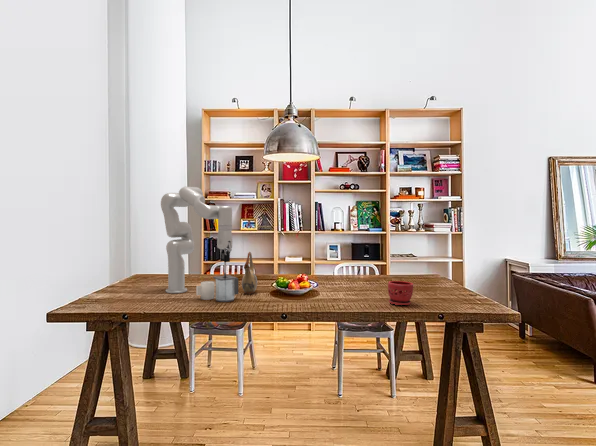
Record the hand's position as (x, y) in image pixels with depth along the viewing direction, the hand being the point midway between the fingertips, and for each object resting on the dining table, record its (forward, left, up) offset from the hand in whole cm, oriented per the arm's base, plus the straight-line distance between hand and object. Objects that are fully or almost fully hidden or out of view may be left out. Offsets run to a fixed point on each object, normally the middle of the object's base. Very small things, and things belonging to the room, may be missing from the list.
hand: (225, 261), depth 221 cm
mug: (-10, -7, -22) cm, 25 cm away
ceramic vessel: (-8, +20, -22) cm, 31 cm away
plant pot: (+62, +73, -22) cm, 98 cm away
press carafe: (0, +1, -22) cm, 22 cm away
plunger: (0, 0, -12) cm, 12 cm away
